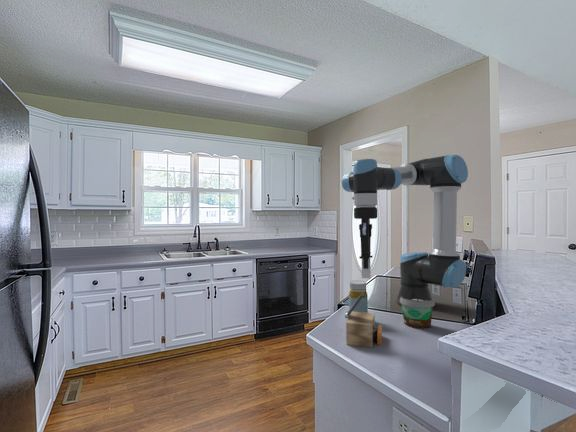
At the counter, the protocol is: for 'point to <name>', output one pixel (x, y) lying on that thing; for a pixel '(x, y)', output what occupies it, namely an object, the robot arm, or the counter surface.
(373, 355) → the counter surface
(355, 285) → the bottle
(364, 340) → the block
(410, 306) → the food container
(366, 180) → the robot arm
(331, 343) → the counter surface
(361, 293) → the keeper
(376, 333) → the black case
